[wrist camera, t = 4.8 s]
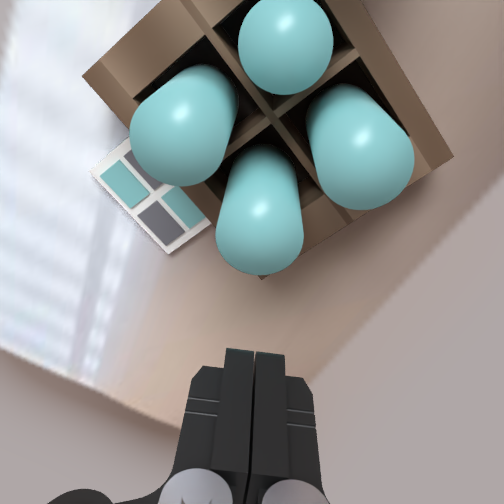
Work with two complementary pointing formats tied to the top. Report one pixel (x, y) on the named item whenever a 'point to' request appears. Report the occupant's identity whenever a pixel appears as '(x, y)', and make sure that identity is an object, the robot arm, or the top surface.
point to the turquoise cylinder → (357, 148)
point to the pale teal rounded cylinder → (185, 126)
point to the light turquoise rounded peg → (260, 212)
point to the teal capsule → (285, 45)
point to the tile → (149, 199)
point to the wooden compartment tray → (265, 95)
